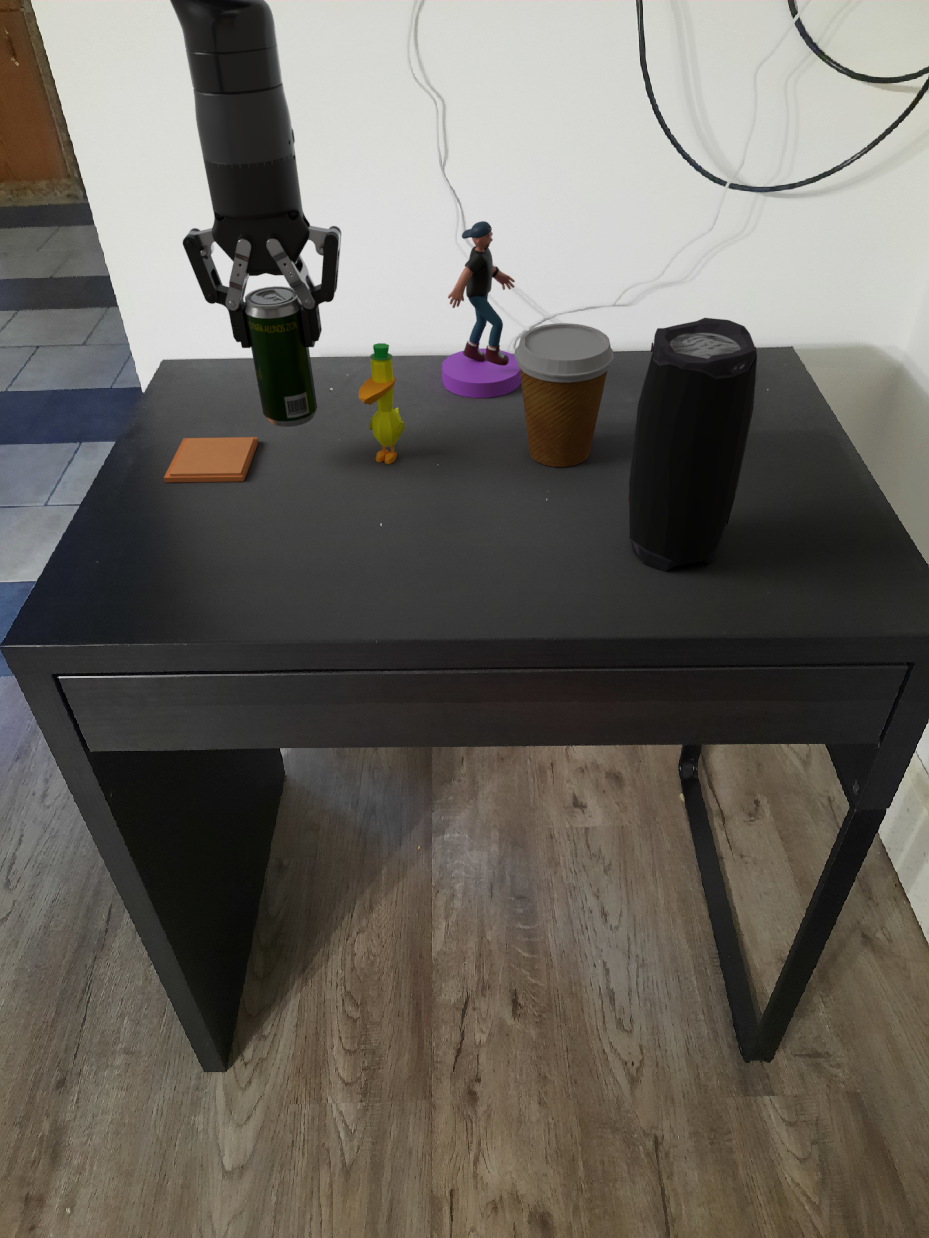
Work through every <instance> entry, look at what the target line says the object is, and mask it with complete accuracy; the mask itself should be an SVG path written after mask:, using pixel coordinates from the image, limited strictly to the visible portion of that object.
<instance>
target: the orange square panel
mask: <svg viewBox="0 0 929 1238" xmlns="http://www.w3.org/2000/svg"><path fill="white" fill-rule="evenodd" d="M258 444H259V437H257V436H249V437H248V436H242V437H241V436H239V437H234V436H233V437H183V439H182V441H181V443H180V445H179V446H178V449H177V450H176V453H175V454H174V457H173V458H172V460H171V463H170V465H169V467H168V469H167V470H166V472H165V475H164V477H163V479H164V483H223V482H224V483H226V482H228V483H229V482H230V483H232V482H244V481H245V479H246V477H247V474H248V471H249V470H250V469H249V468H250V466H251V463H252V460H253V458H254V455H255V453H256V449H257V447H258Z"/></svg>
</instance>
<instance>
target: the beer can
mask: <svg viewBox="0 0 929 1238" xmlns="http://www.w3.org/2000/svg"><path fill="white" fill-rule="evenodd" d="M244 302H246V304H245V308H244V310H245V316H246V322H247V327H248V333H249V338H250V344H251V348H250V349H251V354H252V361H253V364H254V371H255V377H256V381H257V387H258V393H259V398H260V399H259V400H260V405H261V409H262V414H263V416H264V417H265V419H266V420H267V421H268V422H269V423H270V424H271V425H274V426H276V427H280V428H290V427H292V428H293V427H298V426H301V425H305V424H306V423H309V422H310V421H311V420H313V419H314V418H315V415H316V412H317V409H318V402H317V396H316V388H315V382H314V376H313V368H312V367H313V366H312V360H311V354H310V347H306V345H305V339H304V332H303V325H302V318H301V311H300V310H301V308H302V303H301V302H300V300H299V298H298V296H297V295H296V293H295V291H294V289H293V288H291V287H290V286H289V287H288V286H280V285H279V286H276V285H275V286H266V287H265V286H264V287H260V288H257V289H255V290H252V291H250V292H248V293H246V295H244Z"/></svg>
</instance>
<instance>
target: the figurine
mask: <svg viewBox="0 0 929 1238" xmlns="http://www.w3.org/2000/svg"><path fill="white" fill-rule="evenodd" d="M492 228H493V227H492V225H491V224H490V223H489V222H488V221H485V220H483V221H478V222H475V223H474V224H473V225H472V226H471V228H468V229H465V230H464V231H463V232H462V233H461V238H462V239H464V240H465V239H470V238H471V240H472V242H473V244H474V246H473V247H472V248H471V251H470V253H469V258H468V260H467V261H466V262H465V264H464V268H463V270H462V271H461V274H460V275H459V277H458V279H457V282H456V284H455V285H454V287H453V289H452V291H451V292H450V293H449V294H448V296H447V299H449V300H450V301H449V305H452V306H451V308H452V309H455V308H459V306H460V305H461V302H465V297H464V295H465V294H466V297H467V298H468V301H469V303H470V304H471V305H472V307H473V308H474V311H475V312H474V313H475V317H476V318H475V319H476V321H475V323H474V325H473V328H472V330H471V333H470V335H469V339H468V340H467V341H466V343H465V347H464V349H463V350H460V351H458V352H455V353H453V354H451V355H449V356H447V357H446V358H445V359H444V360H443V361H442V364H441V376H442V377H441V378H442V381H441V382H442V385H443V387H444V388H445V389H446V390H448V391H449V392H451V393H452V394H455V395H458V396H461V397H464V398H471V399H472V398H473V399H490V398H497V397H501V396H504V395H507V394H509V393H512V392H513V391H515V390H516V389H518V388H519V387H520V385H521V374H520V368H519V367H518V363H517V361H516V359H515V354H513V353H510V352H509V351H506V350H501V349H500V348H501V345H500V342H501V337H502V332H503V328H504V322H503V320H502V318H501V316H500V315H499V313H497V311H496V310H495V308H494V307H493V306H492V305H491V304H490V302H489V300H488V298H489V294H490V293H491V291H492V285H493V279H494V280H495V281H496V282H498V283H499V284H500V285H501V289H502V291H504V290H506V287H507V289H508V290H511V289H515V285H514V284H513V283H515V282H516V280H515V279H514V278H513V277H511V276H510V275H508V274H506V273H505V272H503V271H501V270H500V268H499V267H498V266H495V265H494V264H493V255H492V251H491V250H490V248H489V247H490V245H491V244H492V242H493V241H494V239H493V237H492V236H493V235H494V234H493V232H492ZM487 323H489V324H490V325H491V326H492V327H491V328H490V331H489V336H488V342H487V343H488V344H487V345H486V347H482V348H480V344H481V338H482V337H483V332H484V331H485V328H486V327H487Z"/></svg>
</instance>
